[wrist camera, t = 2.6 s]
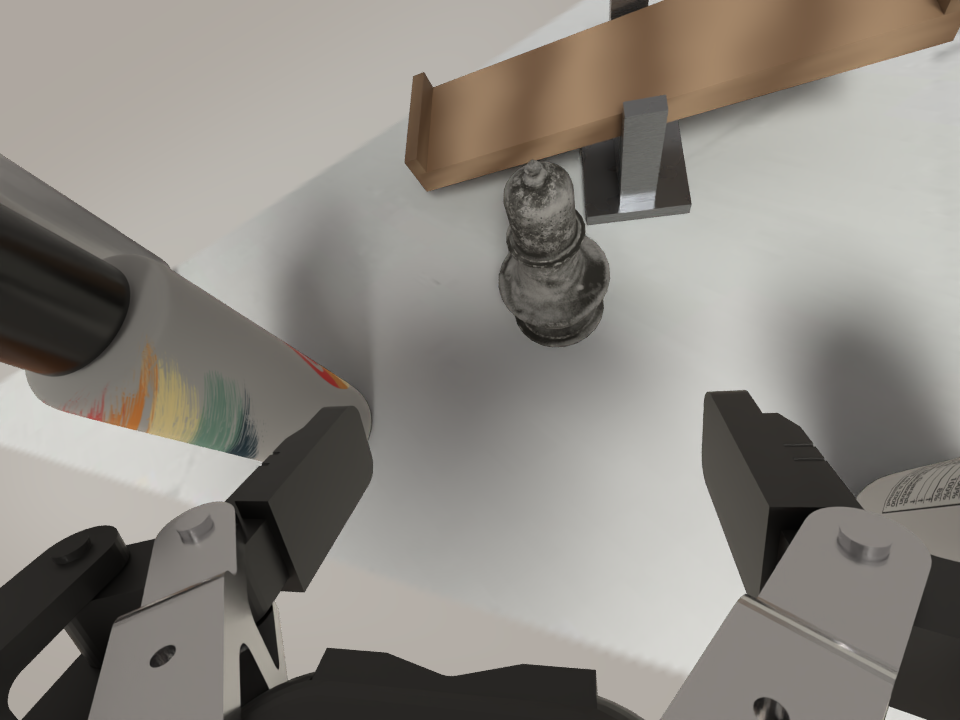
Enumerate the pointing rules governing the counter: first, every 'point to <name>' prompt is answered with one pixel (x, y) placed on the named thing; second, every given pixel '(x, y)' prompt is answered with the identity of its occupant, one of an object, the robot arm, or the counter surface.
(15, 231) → the lotion bottle
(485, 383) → the counter surface
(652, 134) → the pivot stand
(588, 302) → the dark grey turned piece
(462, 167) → the beam
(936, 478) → the energy drink can
